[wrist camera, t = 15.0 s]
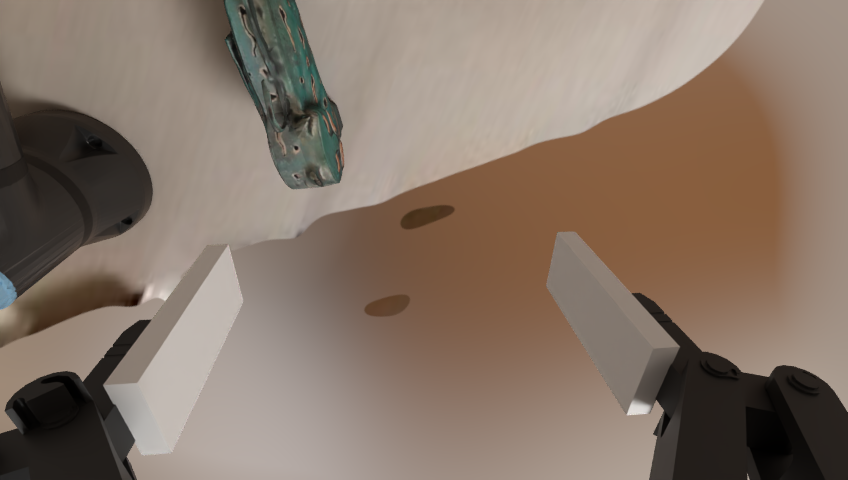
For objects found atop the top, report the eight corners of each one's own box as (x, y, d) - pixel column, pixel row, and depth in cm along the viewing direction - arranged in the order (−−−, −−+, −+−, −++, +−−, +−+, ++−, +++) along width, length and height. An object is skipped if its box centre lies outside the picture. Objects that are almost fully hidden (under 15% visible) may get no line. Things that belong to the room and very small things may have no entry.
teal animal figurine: (356, 138, 48) (343, 207, 31) (304, 150, 48) (262, 225, 31) (297, -63, 38) (229, -130, 21) (232, -48, 38) (109, -101, 21)
